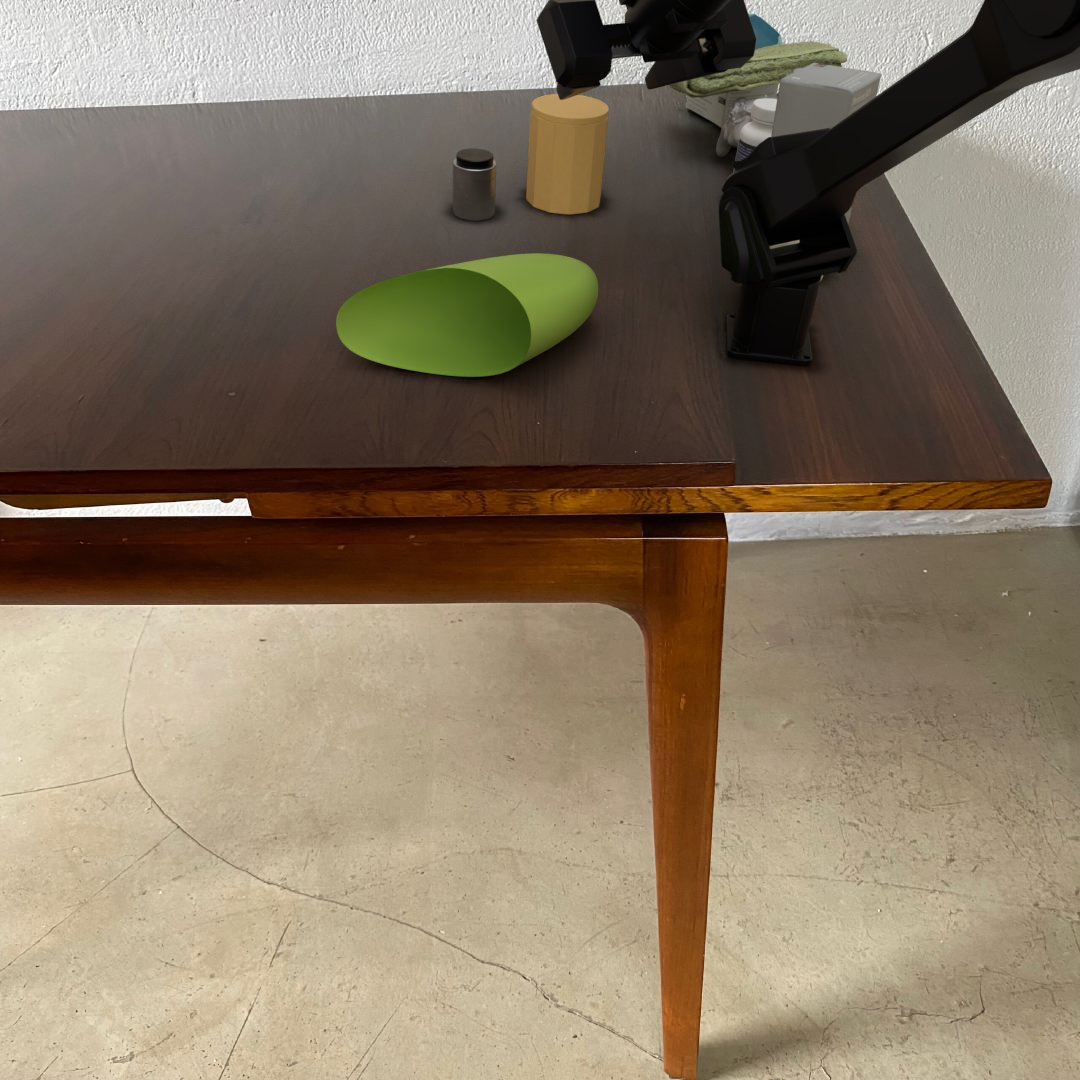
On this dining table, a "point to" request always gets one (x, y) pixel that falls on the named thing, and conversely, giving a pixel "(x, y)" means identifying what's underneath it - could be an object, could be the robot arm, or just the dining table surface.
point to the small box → (726, 102)
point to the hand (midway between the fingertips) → (604, 89)
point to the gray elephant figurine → (735, 124)
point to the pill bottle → (756, 127)
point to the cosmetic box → (821, 98)
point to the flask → (474, 184)
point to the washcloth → (763, 68)
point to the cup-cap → (566, 153)
